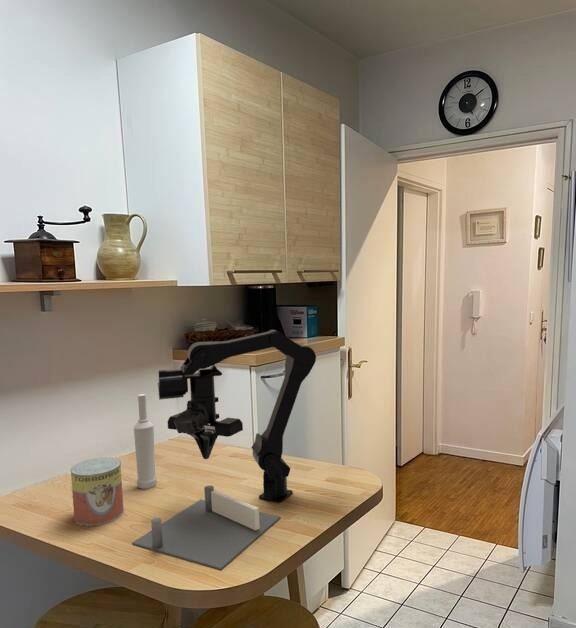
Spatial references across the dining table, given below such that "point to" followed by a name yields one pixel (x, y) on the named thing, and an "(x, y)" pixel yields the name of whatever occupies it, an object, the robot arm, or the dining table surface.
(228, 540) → the plate with peg
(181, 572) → the dining table surface
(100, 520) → the canned food
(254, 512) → the gate
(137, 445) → the bottle
